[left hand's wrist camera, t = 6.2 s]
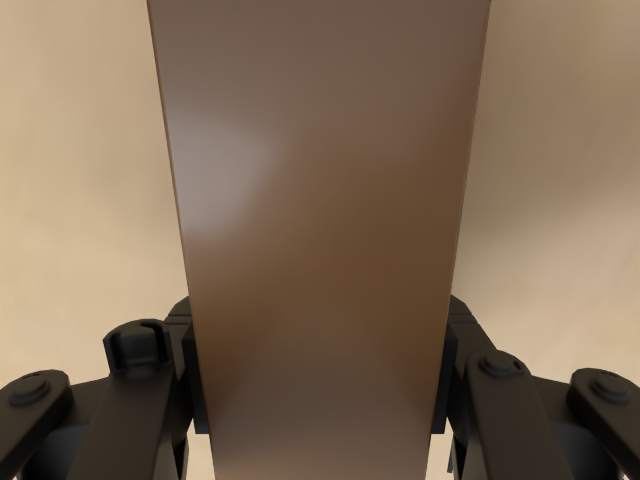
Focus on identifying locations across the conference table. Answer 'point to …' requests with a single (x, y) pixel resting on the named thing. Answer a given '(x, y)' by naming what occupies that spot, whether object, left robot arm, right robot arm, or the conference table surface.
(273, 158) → the beam
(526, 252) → the conference table surface
